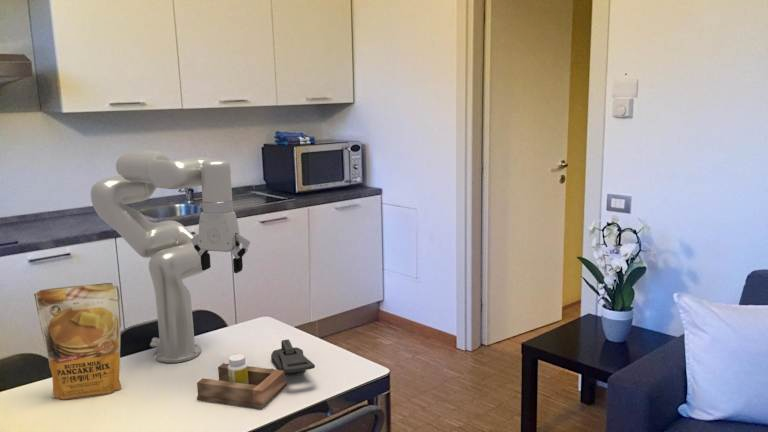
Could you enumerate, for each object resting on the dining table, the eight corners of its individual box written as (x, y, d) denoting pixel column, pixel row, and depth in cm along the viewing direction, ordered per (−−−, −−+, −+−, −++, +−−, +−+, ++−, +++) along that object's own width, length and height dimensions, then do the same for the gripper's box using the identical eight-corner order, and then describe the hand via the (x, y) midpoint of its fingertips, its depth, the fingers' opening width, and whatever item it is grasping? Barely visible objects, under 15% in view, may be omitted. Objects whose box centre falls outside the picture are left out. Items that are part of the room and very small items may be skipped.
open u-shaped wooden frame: (197, 400, 161) (195, 383, 160) (225, 378, 173) (224, 362, 173) (262, 409, 156) (261, 392, 155) (286, 386, 168) (285, 369, 167)
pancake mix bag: (50, 391, 168) (36, 287, 163) (129, 381, 173) (118, 279, 168) (44, 403, 162) (30, 295, 156) (126, 392, 167) (115, 287, 161)
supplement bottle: (252, 385, 166) (250, 354, 165) (242, 393, 162) (240, 362, 160) (236, 383, 168) (233, 352, 166) (225, 391, 164) (223, 359, 162)
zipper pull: (282, 370, 162) (268, 335, 186) (283, 395, 163) (269, 357, 187) (317, 364, 165) (299, 331, 188) (318, 389, 166) (300, 353, 189)
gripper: (181, 208, 170) (185, 271, 173) (239, 211, 164) (243, 277, 168) (197, 203, 177) (202, 264, 180) (254, 206, 171) (257, 269, 174)
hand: (222, 270), depth 174 cm, fingers open, 9 cm apart
